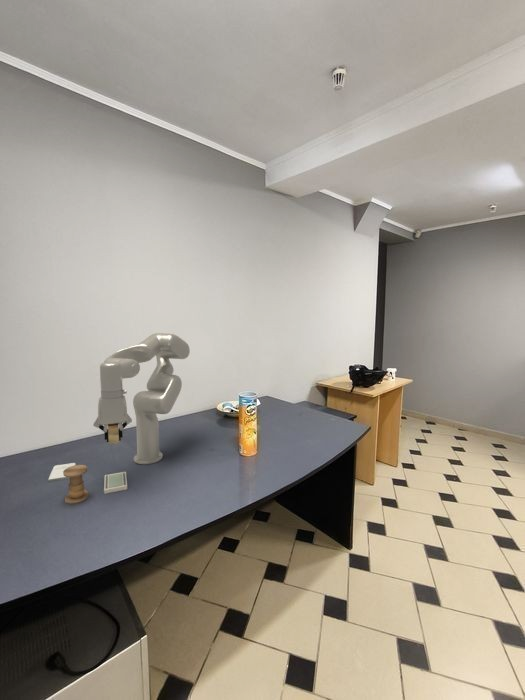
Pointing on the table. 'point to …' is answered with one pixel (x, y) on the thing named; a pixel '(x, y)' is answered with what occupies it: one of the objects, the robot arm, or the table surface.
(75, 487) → the bobbin
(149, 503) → the table surface
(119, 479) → the board
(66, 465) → the external hard drive
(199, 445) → the table surface
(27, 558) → the table surface
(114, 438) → the wooden block
